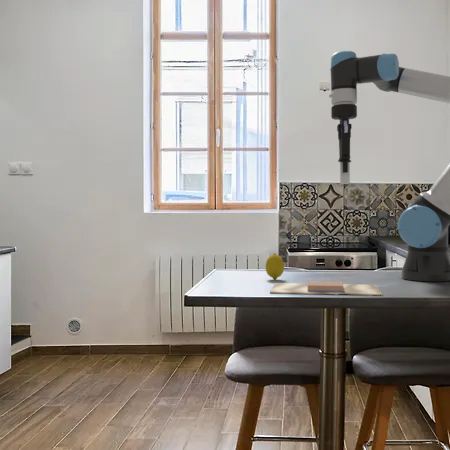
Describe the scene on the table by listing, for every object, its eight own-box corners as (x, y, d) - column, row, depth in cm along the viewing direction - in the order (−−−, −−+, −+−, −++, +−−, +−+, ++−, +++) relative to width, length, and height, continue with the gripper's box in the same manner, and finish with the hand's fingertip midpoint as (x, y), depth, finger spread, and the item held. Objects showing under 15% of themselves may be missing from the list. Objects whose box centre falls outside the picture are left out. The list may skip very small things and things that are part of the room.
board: (376, 286, 163) (376, 284, 163) (382, 295, 145) (382, 294, 145) (275, 284, 168) (275, 283, 168) (269, 293, 150) (269, 291, 150)
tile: (342, 281, 158) (343, 285, 149) (342, 287, 158) (343, 292, 149) (308, 281, 159) (307, 285, 150) (308, 286, 159) (307, 291, 150)
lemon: (282, 281, 175) (282, 254, 175) (264, 280, 177) (264, 254, 176) (284, 278, 181) (284, 252, 181) (266, 278, 182) (266, 252, 182)
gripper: (329, 109, 183) (330, 185, 183) (332, 101, 170) (333, 183, 170) (354, 108, 182) (355, 184, 182) (359, 100, 169) (360, 182, 169)
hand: (344, 183), depth 176 cm, fingers closed
